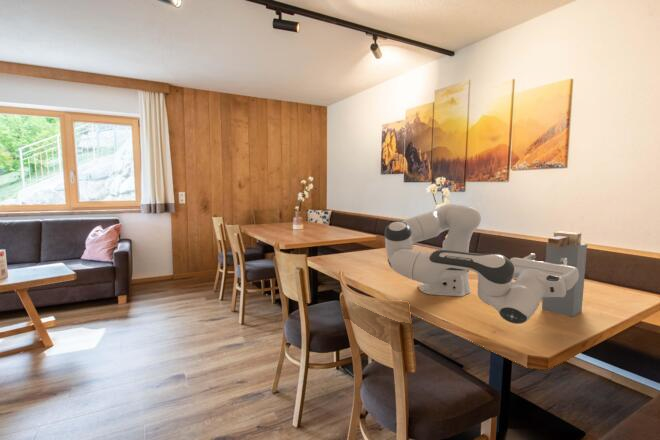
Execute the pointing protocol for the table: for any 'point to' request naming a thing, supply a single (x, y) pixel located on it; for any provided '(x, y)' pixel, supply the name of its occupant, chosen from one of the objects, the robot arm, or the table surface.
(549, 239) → the mallet
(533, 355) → the table surface
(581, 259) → the pedestal
